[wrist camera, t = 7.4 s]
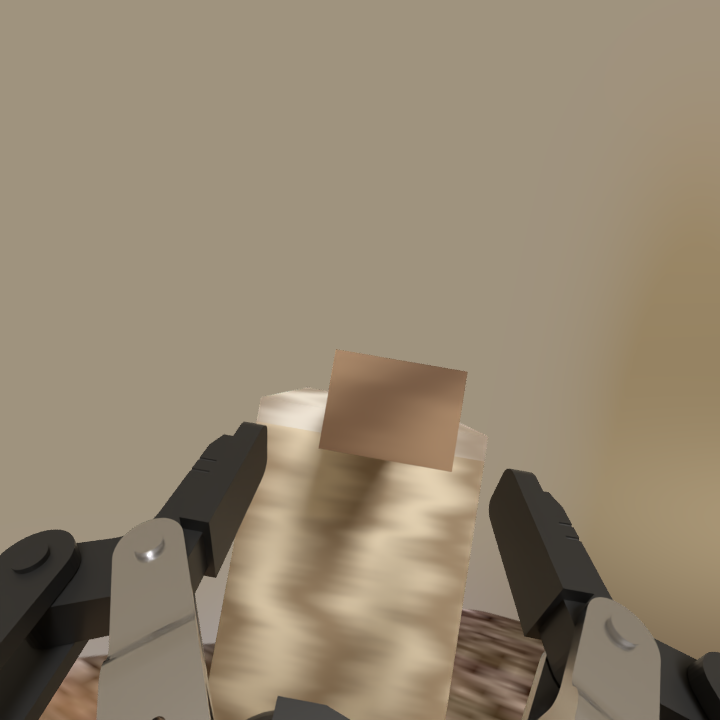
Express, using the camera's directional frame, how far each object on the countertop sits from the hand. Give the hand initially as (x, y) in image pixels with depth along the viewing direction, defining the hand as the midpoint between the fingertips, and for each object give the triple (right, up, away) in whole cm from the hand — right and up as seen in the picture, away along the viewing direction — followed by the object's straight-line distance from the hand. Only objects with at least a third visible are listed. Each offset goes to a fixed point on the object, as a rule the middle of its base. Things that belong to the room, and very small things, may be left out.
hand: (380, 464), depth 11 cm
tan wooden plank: (0, 0, +11) cm, 11 cm away
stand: (-5, -32, +15) cm, 36 cm away
